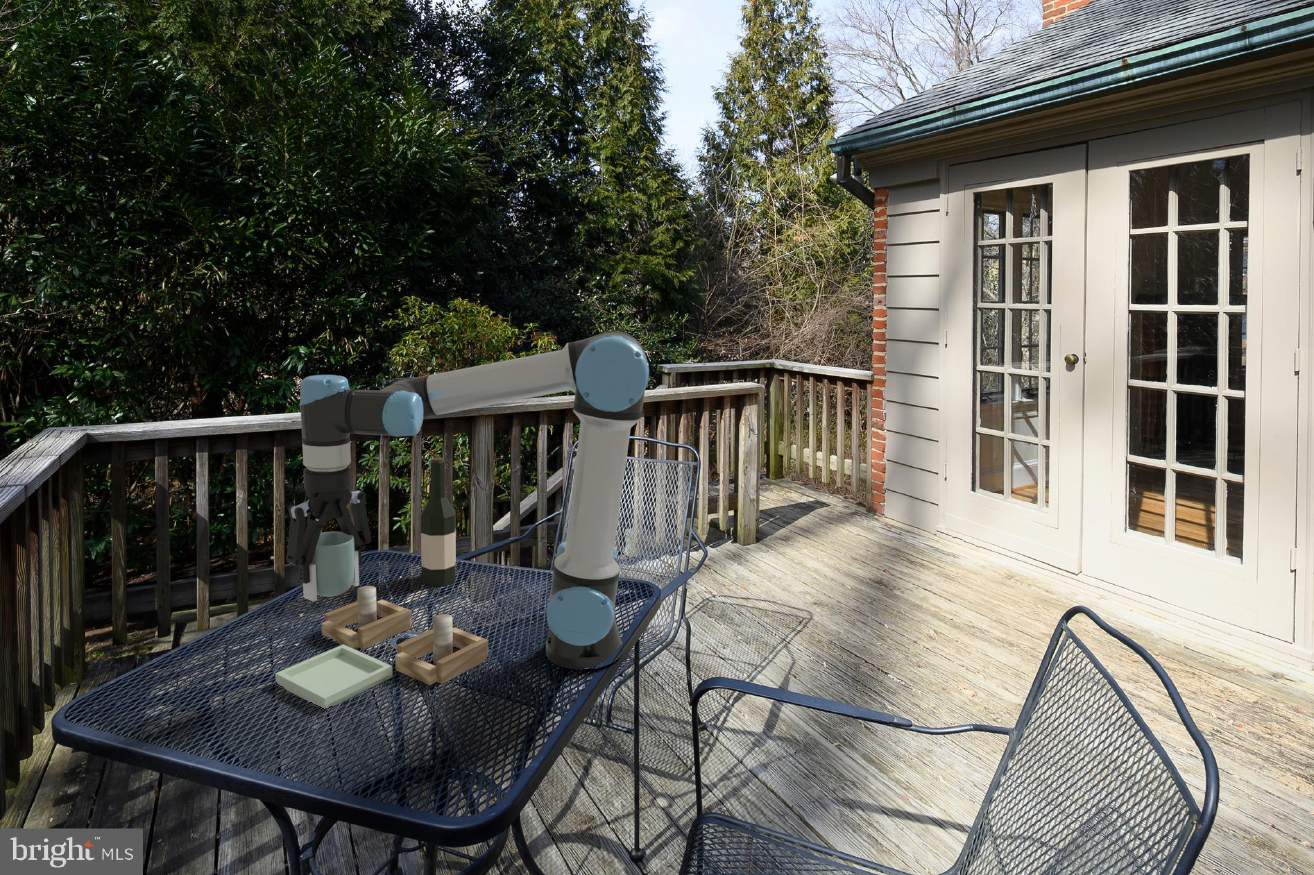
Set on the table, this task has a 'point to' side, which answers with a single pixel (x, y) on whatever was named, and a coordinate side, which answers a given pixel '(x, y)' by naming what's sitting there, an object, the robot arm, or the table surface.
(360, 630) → the rack
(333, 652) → the tray
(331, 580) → the cup
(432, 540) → the wine bottle
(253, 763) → the table surface
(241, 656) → the table surface
